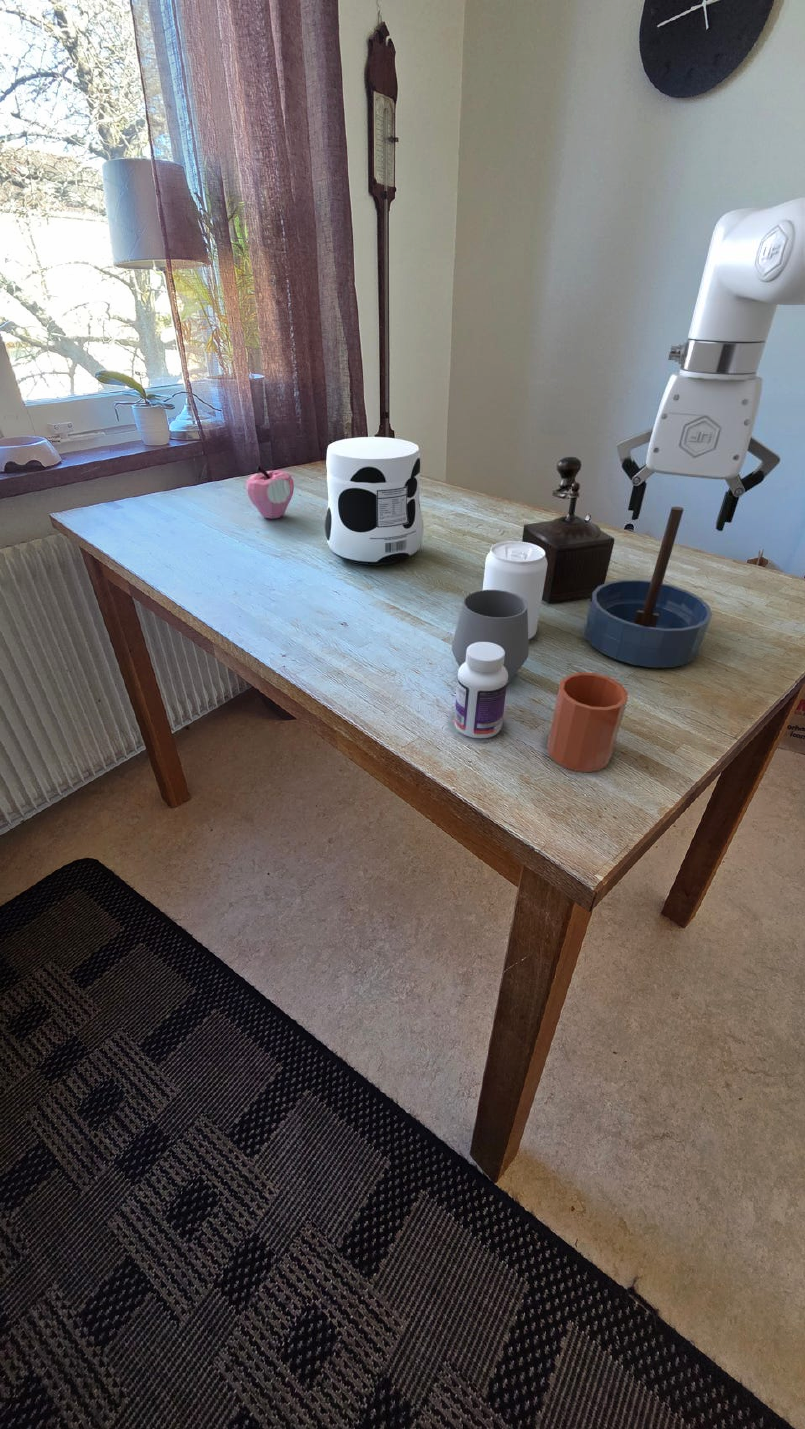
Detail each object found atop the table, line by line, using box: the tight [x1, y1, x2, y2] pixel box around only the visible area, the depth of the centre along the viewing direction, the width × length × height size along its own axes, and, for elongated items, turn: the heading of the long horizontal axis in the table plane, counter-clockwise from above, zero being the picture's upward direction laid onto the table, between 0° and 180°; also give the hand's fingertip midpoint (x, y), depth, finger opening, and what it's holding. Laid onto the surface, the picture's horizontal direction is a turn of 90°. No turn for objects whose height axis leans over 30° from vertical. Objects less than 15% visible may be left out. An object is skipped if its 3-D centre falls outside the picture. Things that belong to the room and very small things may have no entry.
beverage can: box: [482, 540, 547, 640], centre depth 82 cm, size 8×8×12 cm
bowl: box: [583, 579, 713, 669], centre depth 82 cm, size 15×15×6 cm
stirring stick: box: [634, 506, 685, 627], centre depth 78 cm, size 3×1×18 cm, turn 67°
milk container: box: [324, 436, 425, 566], centre depth 103 cm, size 17×17×18 cm
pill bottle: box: [454, 642, 509, 739], centre depth 65 cm, size 5×5×10 cm
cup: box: [451, 589, 530, 682], centre depth 74 cm, size 10×9×10 cm
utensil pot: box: [546, 671, 628, 773], centre depth 62 cm, size 7×7×8 cm
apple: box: [245, 464, 295, 520], centre depth 121 cm, size 10×9×10 cm
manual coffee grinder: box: [521, 456, 615, 604], centre depth 95 cm, size 16×11×18 cm
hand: (676, 522), depth 74 cm, fingers open, 9 cm apart
